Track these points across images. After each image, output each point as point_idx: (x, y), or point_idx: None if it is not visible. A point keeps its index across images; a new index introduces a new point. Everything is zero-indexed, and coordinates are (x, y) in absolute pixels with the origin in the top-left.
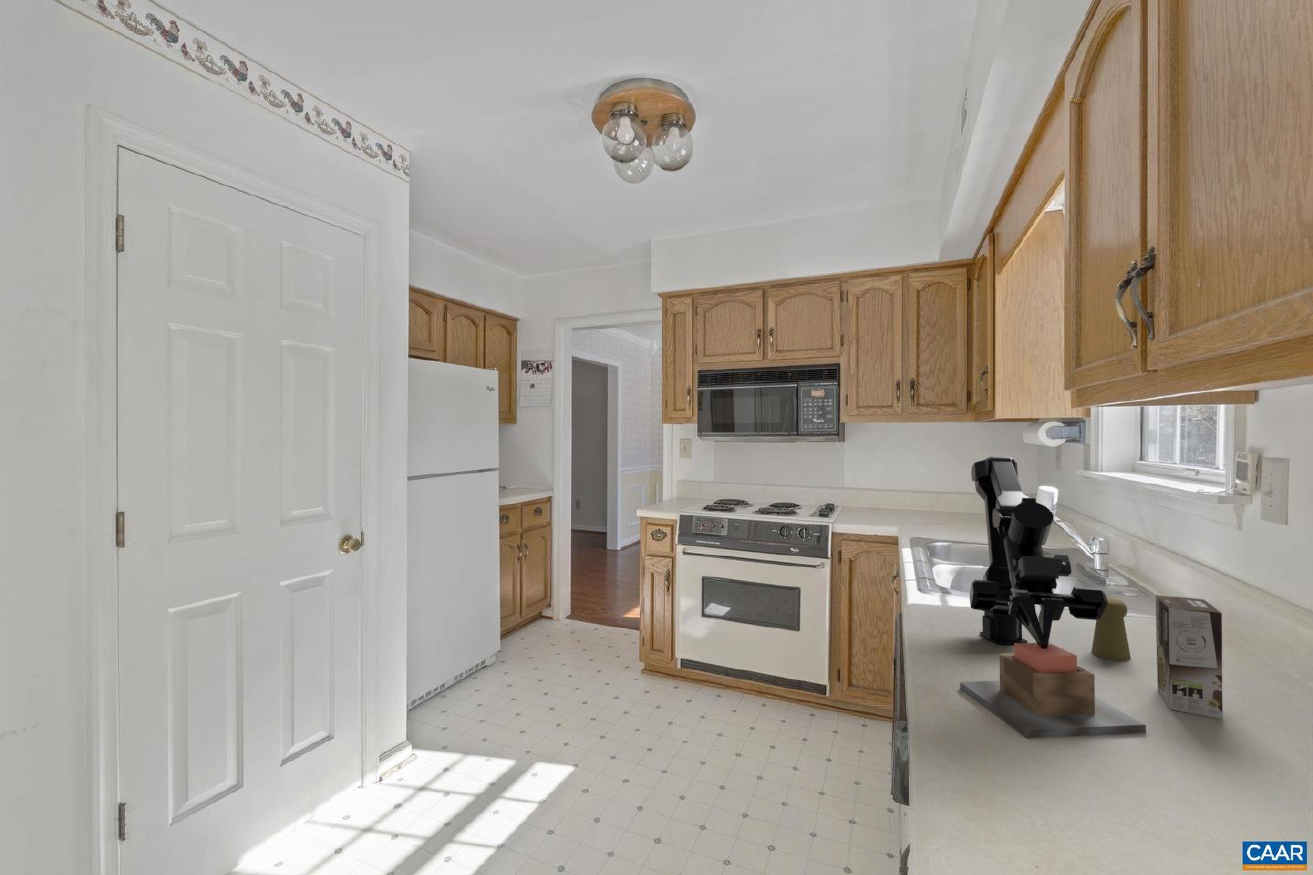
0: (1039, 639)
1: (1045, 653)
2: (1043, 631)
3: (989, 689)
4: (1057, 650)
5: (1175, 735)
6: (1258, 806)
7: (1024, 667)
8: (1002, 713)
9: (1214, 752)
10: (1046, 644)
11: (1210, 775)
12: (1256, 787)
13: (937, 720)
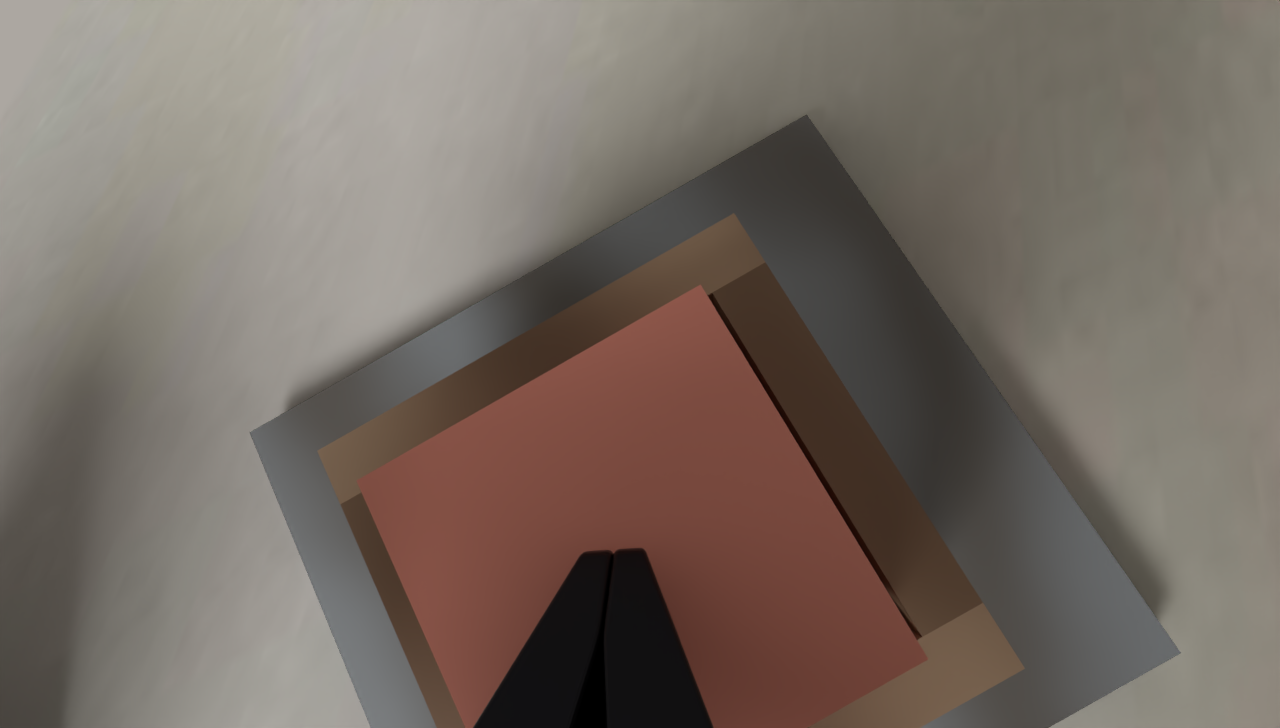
0: (659, 594)
1: (636, 416)
2: (583, 690)
3: (980, 592)
4: (499, 579)
5: (165, 466)
6: (159, 2)
7: (819, 368)
8: (910, 265)
9: (92, 356)
10: (594, 557)
11: (200, 146)
12: (97, 127)
13: (1222, 133)
